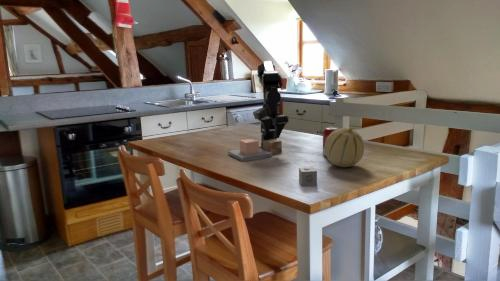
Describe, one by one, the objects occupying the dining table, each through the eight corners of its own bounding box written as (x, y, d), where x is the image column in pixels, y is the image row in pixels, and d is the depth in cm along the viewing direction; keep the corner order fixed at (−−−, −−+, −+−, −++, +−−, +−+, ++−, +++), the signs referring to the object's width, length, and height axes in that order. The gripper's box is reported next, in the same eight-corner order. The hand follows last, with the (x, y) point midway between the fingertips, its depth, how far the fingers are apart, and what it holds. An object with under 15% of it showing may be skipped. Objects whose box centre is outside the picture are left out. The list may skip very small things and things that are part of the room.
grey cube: (299, 181, 132) (298, 167, 131) (313, 181, 132) (313, 166, 131) (301, 186, 127) (301, 171, 126) (316, 185, 127) (317, 171, 126)
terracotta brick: (252, 149, 173) (252, 138, 172) (259, 152, 168) (258, 141, 167) (240, 151, 170) (239, 140, 169) (246, 154, 165) (246, 142, 164)
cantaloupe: (331, 159, 158) (331, 123, 155) (368, 163, 151) (369, 125, 148) (318, 169, 146) (318, 129, 143) (357, 173, 139) (358, 132, 135)
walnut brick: (274, 149, 179) (274, 138, 178) (281, 151, 174) (281, 140, 173) (263, 151, 176) (263, 140, 175) (270, 153, 171) (270, 142, 170)
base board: (256, 150, 178) (256, 146, 178) (271, 156, 166) (271, 153, 166) (228, 154, 172) (228, 151, 172) (242, 161, 160) (242, 157, 160)
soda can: (329, 158, 160) (330, 129, 157) (319, 155, 166) (319, 127, 163) (342, 156, 163) (343, 128, 160) (332, 153, 169) (332, 125, 166)
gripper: (245, 100, 175) (246, 135, 179) (266, 104, 159) (266, 142, 162) (267, 98, 180) (267, 132, 184) (289, 102, 164) (289, 139, 167)
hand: (272, 136), depth 174 cm, fingers open, 9 cm apart
